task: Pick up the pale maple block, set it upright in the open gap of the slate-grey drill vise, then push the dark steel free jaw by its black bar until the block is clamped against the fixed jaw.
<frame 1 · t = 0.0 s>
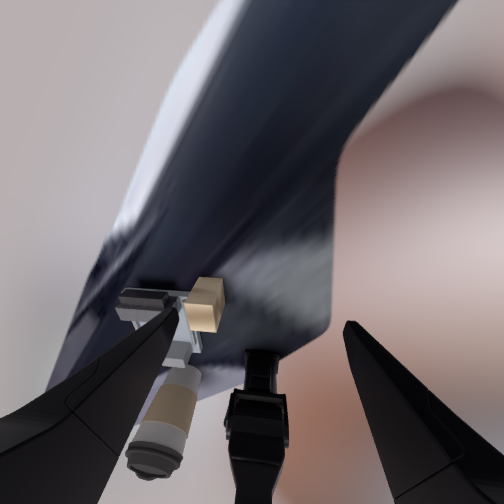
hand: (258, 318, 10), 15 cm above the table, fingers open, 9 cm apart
vise bed: (167, 319, 33), on the table
free jaw: (148, 304, 28), point 3 cm above the table, slide at 0.0 cm
coffee cup: (187, 371, 42), on the table
maple block: (212, 290, 29), on the table
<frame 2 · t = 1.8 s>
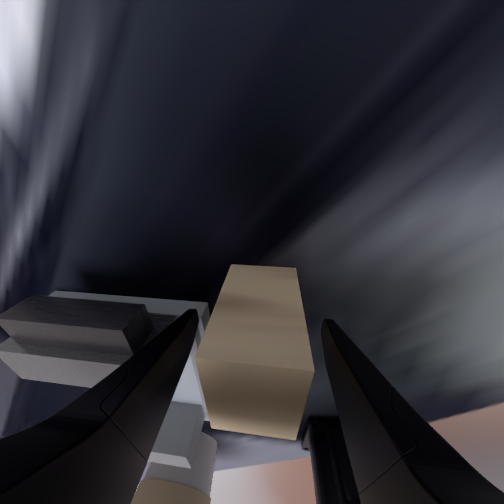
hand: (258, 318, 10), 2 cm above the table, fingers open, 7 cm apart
vise bed: (154, 359, 16), on the table
free jaw: (94, 336, 10), point 3 cm above the table, slide at 0.0 cm, touching gripper
coffee cup: (191, 436, 24), on the table
maple block: (261, 299, 12), on the table
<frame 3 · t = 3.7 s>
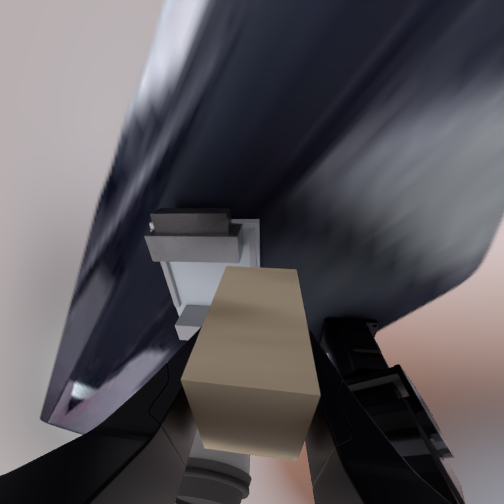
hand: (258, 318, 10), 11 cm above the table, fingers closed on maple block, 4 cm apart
vise bed: (215, 274, 23), on the table
free jaw: (196, 233, 17), point 3 cm above the table, slide at 0.0 cm
coffee cup: (231, 356, 31), on the table
maple block: (260, 303, 11), point 10 cm above the table, touching gripper
when the fingers open (3 cm above the table, at t = 5.2 s): maple block drops 1 cm, resting on vise bed.
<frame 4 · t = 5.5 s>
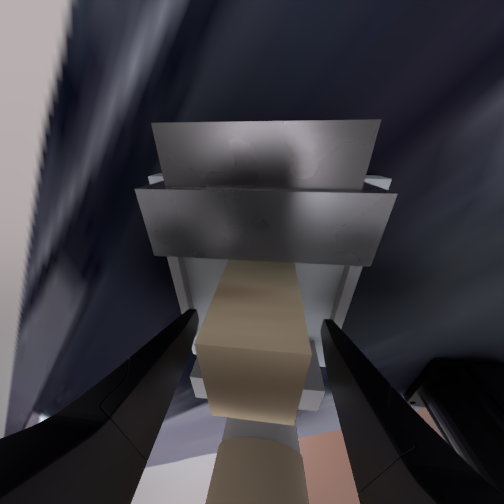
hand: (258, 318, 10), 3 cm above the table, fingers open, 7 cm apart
vise bed: (261, 283, 13), on the table
free jaw: (260, 192, 7), point 3 cm above the table, slide at 0.0 cm
coffee cup: (262, 398, 21), on the table
maple block: (260, 291, 12), point 1 cm above the table, touching vise bed
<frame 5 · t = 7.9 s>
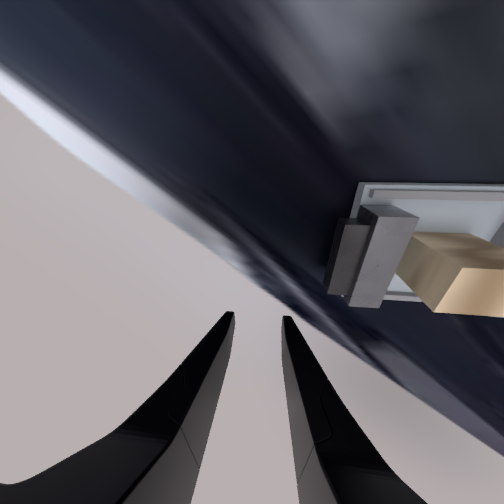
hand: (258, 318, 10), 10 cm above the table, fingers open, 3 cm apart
vise bed: (421, 245, 17), on the table
free jaw: (358, 257, 15), point 3 cm above the table, slide at 0.0 cm
maple block: (426, 251, 16), point 1 cm above the table, touching vise bed
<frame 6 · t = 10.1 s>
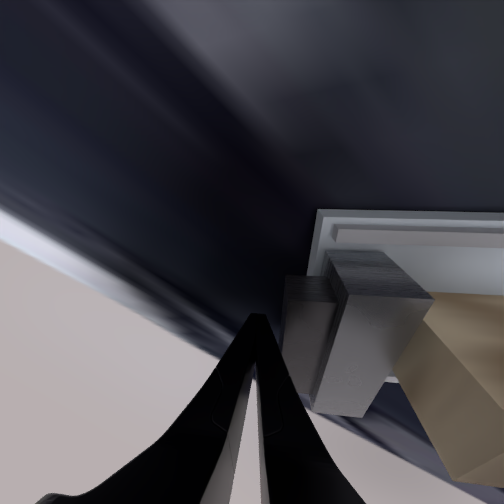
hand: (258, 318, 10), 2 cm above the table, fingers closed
vise bed: (423, 303, 11), on the table
free jaw: (325, 337, 9), point 3 cm above the table, slide at 0.3 cm, touching gripper
maple block: (433, 318, 10), point 1 cm above the table, touching vise bed
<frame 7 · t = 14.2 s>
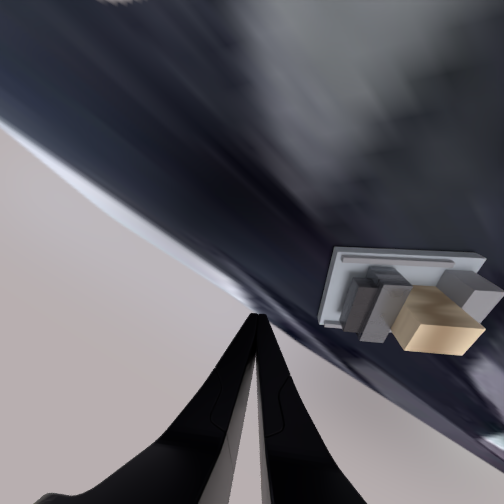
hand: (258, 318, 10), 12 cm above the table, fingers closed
vise bed: (384, 289, 22), on the table
free jaw: (367, 305, 20), point 3 cm above the table, slide at 3.5 cm, touching maple block
maple block: (404, 297, 21), point 1 cm above the table, touching free jaw, vise bed
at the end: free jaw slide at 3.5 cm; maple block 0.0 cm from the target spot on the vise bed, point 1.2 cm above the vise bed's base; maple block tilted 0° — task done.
